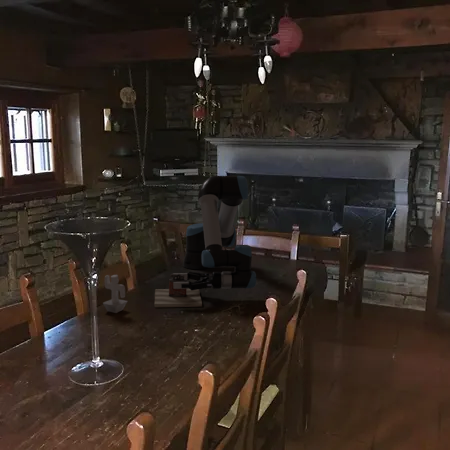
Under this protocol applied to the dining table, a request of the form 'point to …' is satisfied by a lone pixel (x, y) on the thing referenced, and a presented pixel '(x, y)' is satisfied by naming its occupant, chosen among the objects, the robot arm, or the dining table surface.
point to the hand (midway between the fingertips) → (173, 280)
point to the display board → (177, 299)
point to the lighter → (177, 291)
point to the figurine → (114, 294)
